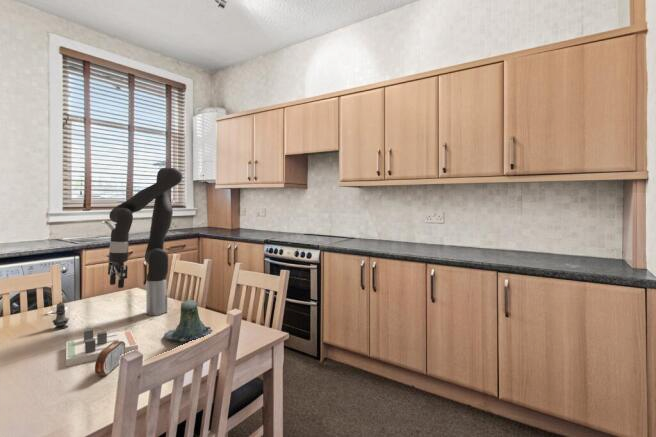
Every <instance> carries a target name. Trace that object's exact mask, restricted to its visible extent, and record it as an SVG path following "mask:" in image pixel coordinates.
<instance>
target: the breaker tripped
mask: <svg viewBox="0 0 656 437" xmlns="http://www.w3.org/2000/svg"><path fill="white" fill-rule="evenodd" d="M107 334H108V332H107V330H103V331H98V332H96V336H97V344H98V345H99V344H104V343H107Z"/></svg>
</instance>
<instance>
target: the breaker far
mask: <svg viewBox="0 0 656 437" xmlns="http://www.w3.org/2000/svg"><path fill="white" fill-rule="evenodd" d="M93 337H94V328H93V327H92V328H91V327H90V328H85V329H83V339H84V342H85V340H88V339H93Z"/></svg>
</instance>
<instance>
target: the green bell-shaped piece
mask: <svg viewBox="0 0 656 437" xmlns="http://www.w3.org/2000/svg"><path fill="white" fill-rule="evenodd" d="M179 319H180V320H179V324H177V325H176V328H175V329H170V330H168V331H167V332H165V333H164V335H163V337H164V338H165V339H166V340H167V341H169V342H170V343H174V344H176V345H182V344H188V343H187V342H189V341H192V340H196V339H198V338H201V337H204V336H206V335H208V334H212V333H213V329H212V328H211V326H205V324H204V323H203V321H202V320H201V318H200V314H199V309H198V303H197V301H195V300H192V299H189V300H188V299H187V300H185V301H182V302H181V304H180V318H179Z"/></svg>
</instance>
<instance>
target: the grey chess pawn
mask: <svg viewBox="0 0 656 437" xmlns="http://www.w3.org/2000/svg"><path fill="white" fill-rule="evenodd" d="M56 305H57V311H56V313H55V314H56V315H55V316H56V317H55V319H52V323H53V325H54V326H55V327H53V328H52V330H55V331H60V330H65V329H67V328H69V326H68V325H67V324H68V322H69V320H70V318H69V317H67V316H66V312H65V307H66V305H65V303H64V302H62V301H60V302H59V303H57V304H56Z"/></svg>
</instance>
